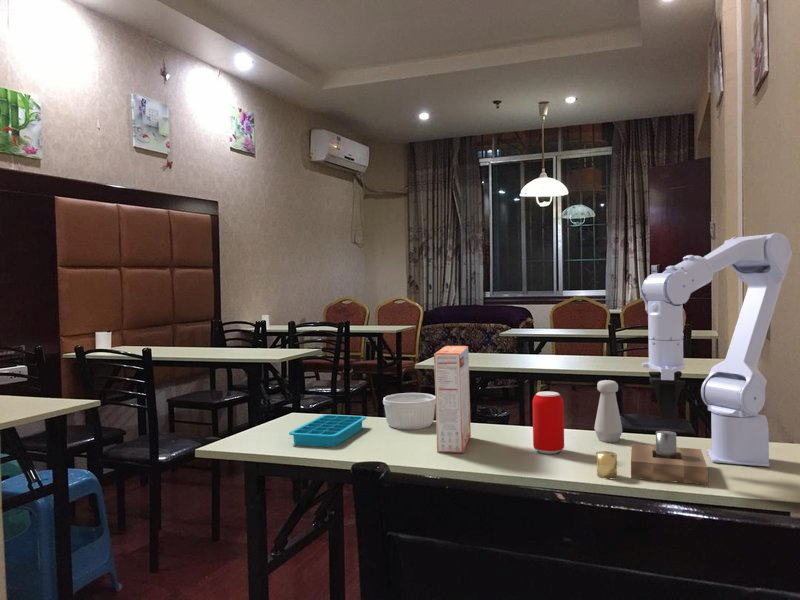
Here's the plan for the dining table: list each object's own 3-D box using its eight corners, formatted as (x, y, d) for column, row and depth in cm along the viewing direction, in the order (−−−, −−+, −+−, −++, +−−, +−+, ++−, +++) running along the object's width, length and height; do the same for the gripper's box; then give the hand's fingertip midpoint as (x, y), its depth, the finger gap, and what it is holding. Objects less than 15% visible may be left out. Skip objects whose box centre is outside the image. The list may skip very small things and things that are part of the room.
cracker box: (445, 436, 137) (443, 345, 136) (471, 437, 135) (469, 345, 135) (434, 453, 123) (432, 352, 123) (463, 454, 122) (461, 352, 121)
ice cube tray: (367, 428, 148) (367, 416, 147) (335, 450, 128) (335, 436, 128) (324, 426, 151) (324, 414, 151) (286, 446, 132) (286, 433, 132)
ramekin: (384, 432, 142) (383, 403, 142) (382, 420, 155) (382, 393, 155) (439, 430, 143) (438, 401, 143) (433, 418, 156) (433, 391, 156)
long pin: (676, 469, 109) (676, 431, 109) (676, 475, 106) (676, 435, 106) (656, 467, 110) (656, 430, 110) (655, 472, 107) (655, 434, 107)
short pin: (617, 474, 107) (617, 452, 107) (616, 480, 104) (616, 457, 104) (597, 472, 108) (597, 450, 108) (596, 478, 105) (596, 455, 105)
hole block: (700, 465, 111) (700, 449, 111) (707, 485, 100) (707, 467, 100) (632, 459, 116) (631, 444, 116) (631, 478, 105) (630, 461, 105)
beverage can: (535, 446, 127) (534, 390, 126) (565, 448, 125) (564, 391, 124) (531, 454, 121) (530, 395, 121) (563, 456, 119) (562, 396, 119)
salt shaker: (624, 443, 127) (623, 383, 127) (596, 442, 128) (595, 382, 128) (619, 437, 133) (619, 378, 133) (593, 436, 134) (592, 378, 134)
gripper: (641, 335, 116) (642, 405, 116) (641, 342, 102) (642, 421, 103) (681, 336, 113) (682, 407, 113) (687, 343, 100) (688, 424, 100)
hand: (666, 414), depth 108 cm, fingers open, 7 cm apart
